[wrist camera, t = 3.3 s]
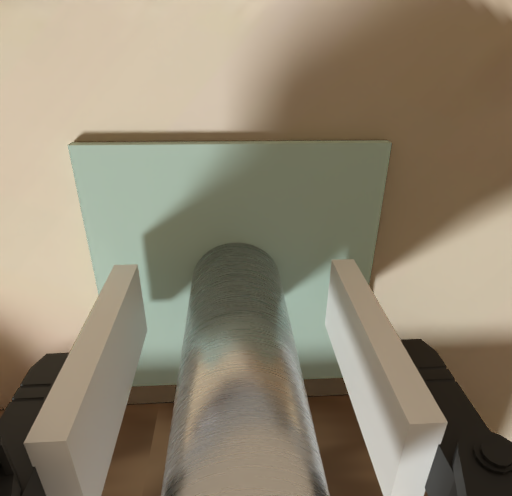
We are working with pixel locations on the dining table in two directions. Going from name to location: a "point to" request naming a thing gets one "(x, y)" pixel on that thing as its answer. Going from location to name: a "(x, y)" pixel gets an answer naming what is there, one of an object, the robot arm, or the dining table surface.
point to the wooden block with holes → (157, 437)
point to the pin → (240, 387)
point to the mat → (230, 226)
